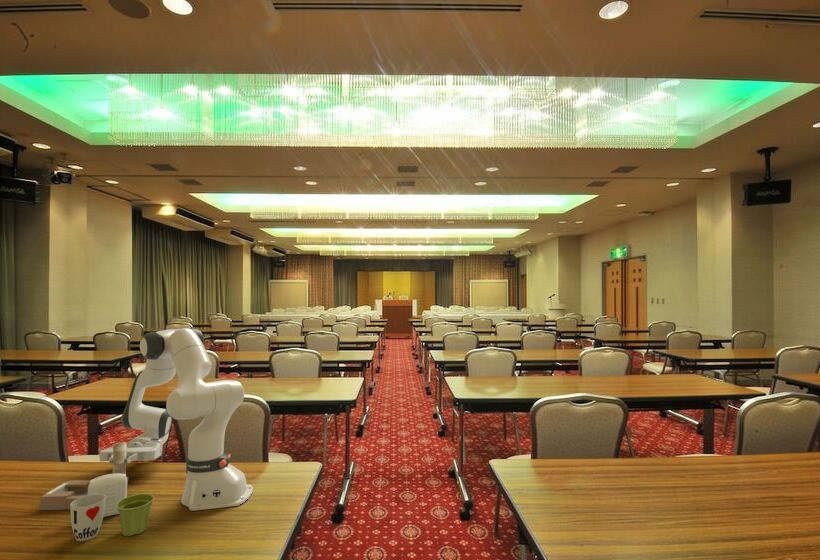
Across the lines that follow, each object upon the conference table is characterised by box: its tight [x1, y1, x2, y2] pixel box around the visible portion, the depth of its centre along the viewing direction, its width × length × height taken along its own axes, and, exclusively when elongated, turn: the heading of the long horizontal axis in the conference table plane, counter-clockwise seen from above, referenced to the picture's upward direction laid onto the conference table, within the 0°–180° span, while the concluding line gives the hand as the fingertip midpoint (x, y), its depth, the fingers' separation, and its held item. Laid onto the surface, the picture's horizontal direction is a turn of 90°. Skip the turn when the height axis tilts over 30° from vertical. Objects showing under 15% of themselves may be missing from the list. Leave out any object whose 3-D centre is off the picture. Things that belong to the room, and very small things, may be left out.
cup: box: [69, 494, 106, 542], centre depth 121 cm, size 8×8×10 cm
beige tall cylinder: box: [112, 441, 130, 483], centre depth 155 cm, size 6×6×14 cm
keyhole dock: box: [39, 479, 91, 511], centre depth 142 cm, size 16×12×4 cm
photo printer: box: [88, 473, 128, 518], centre depth 133 cm, size 10×4×12 cm, turn 123°
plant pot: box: [116, 492, 155, 537], centre depth 124 cm, size 9×9×9 cm
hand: (118, 461), depth 155 cm, fingers closed on beige tall cylinder, 4 cm apart
